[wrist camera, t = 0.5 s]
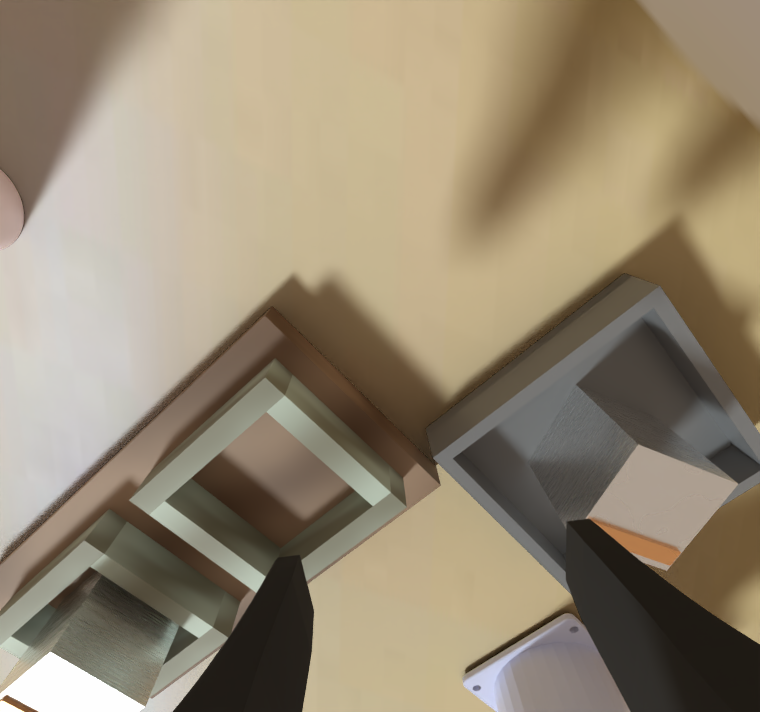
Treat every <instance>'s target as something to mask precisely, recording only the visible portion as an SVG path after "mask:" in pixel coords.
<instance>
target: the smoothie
mask: <svg viewBox="0 0 760 712" xmlns="http://www.w3.org/2000/svg"><path fill="white" fill-rule="evenodd" d="M23 223H24V210H23V205H22V201H21V198H20V196H19V193H18V191H17V189H16V188H15V186H14V184H13V183H12V181H11V180H10V179H9V178H8V176H7V175H6V174H5V173H4V172H3V171H2V170H1V169H0V250H3V249H5V248H7V247H9V246H10V245H11V244H13V243H14V242H15V241H16V239H17V238H18V237H19V235H20V233H21V231H22V228H23Z"/></svg>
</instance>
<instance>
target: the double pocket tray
mask: <svg viewBox="0 0 760 712" xmlns="http://www.w3.org/2000/svg"><path fill="white" fill-rule="evenodd" d="M439 486H441V485H440V481H439V477H438V473H437V469H436V466H435V465H434V464H433V463H432V462H431V461H430V460H429V459H428V458H427V457H426V456H425V455H424V454H423V453H422V452H421V451H420V450H419V449H417V448H416V447H415V446H414V445H413V444H412V443H411V442H410V441H409V440H408V439H407V438H406V437H405V436H404V435H403V434H402V433H401V432H400V431H399V430H398V429H397V428H396V427H395V426H394V425H393V424H392V423H391V422H390V421H389V420H388V419H387V418H386V417H385V416H384V415H383V414H382V413H381V412H380V411H379V410H378V409H377V408H376V407H375V406H374V405H373V404H372V403H371V402H370V401H368V400H367V399H366V398H365V397H364V396H363V395H362V394H361V393H360V392H359V391H358V390H357V389H356V388H355V387H354V386H353V385H352V384H351V383H350V382H349V381H348V380H347V379H346V378H345V377H344V376H343V375H342V374H341V373H340V372H339V371H338V370H337V369H336V368H335V367H334V366H333V365H332V364H331V363H330V362H329V361H328V360H327V359H326V358H325V357H324V356H323V355H322V354H321V353H319V352H318V351H317V350H316V349H315V348H314V347H313V346H312V345H311V344H310V343H309V342H308V341H307V340H306V339H305V338H304V337H303V336H302V335H301V334H300V333H299V332H298V331H297V330H296V329H295V328H294V327H293V326H292V325H291V324H290V323H289V322H288V321H287V320H286V319H285V318H284V317H283V316H282V315H281V314H280V313H279V312H278V311H277V310H276V309H275V308H274V307H273V306H272V307H271V308H270V309H269V310H268V311H267V312H265V313H264V314H263V315H262V316H261V317H260V318H259V319H258V320H257V321H256V322H255V323H254V324H253V325H252V326H251V327H250V328H249V329H247V330H246V331H245V332H244V333H243V334H242V335H241V336H240V337H239V338H238V339H237V340H236V341H235V342H234V343H233V344H232V345H231V346H230V347H228V348H227V349H226V350H225V351H224V352H223V353H222V354H221V355H220V356H219V357H218V358H217V359H216V360H215V361H214V362H213V363H212V364H211V365H209V366H208V367H207V368H206V369H205V370H204V371H203V372H202V373H201V374H200V375H199V376H198V377H197V378H196V379H195V380H194V381H193V382H192V383H190V384H189V385H188V386H187V387H186V388H185V389H184V390H183V391H182V392H181V393H180V394H179V395H178V396H177V397H176V398H175V399H174V400H172V401H171V402H170V403H169V404H168V405H167V406H166V407H165V408H164V409H163V410H162V411H161V412H160V413H159V414H158V415H157V416H156V417H155V418H153V419H152V420H151V421H150V422H149V423H148V424H147V425H146V426H145V427H144V428H143V429H142V430H141V431H140V432H139V433H138V434H137V435H136V436H134V437H133V438H132V439H131V440H130V441H129V442H128V443H127V444H126V445H125V446H124V447H123V448H122V449H121V450H120V451H119V452H118V453H117V454H115V455H114V456H113V457H112V458H111V459H110V460H109V461H108V462H107V463H106V464H105V465H104V466H103V467H102V468H101V469H100V470H99V471H98V472H96V473H95V474H94V475H93V476H92V477H91V478H90V479H89V480H88V481H87V482H86V483H85V484H84V485H83V486H82V487H81V488H80V489H78V490H77V491H76V492H75V493H74V494H73V495H72V496H71V497H70V498H69V499H68V500H67V501H66V502H65V503H64V504H63V505H62V506H61V507H59V508H58V509H57V510H56V511H55V512H54V513H53V514H52V515H51V516H50V517H49V518H48V519H47V520H46V521H45V522H44V523H43V524H42V525H40V526H39V527H38V528H37V529H36V530H35V531H34V532H33V533H32V534H31V535H30V536H29V537H28V538H27V539H26V540H25V541H24V542H23V543H21V544H20V545H19V546H18V547H17V548H16V549H15V550H14V551H13V552H12V553H11V554H10V555H9V556H8V557H7V558H6V559H5V560H3V561H2V562H1V563H0V648H1V649H3V650H5V651H7V652H9V653H10V654H12V655H14V656H16V657H17V658H19V659H20V658H21V657H22V655H23V654H24V653H25V651H26V650H27V649H28V647H29V646H30V644H31V643H32V642H33V640H34V639H35V638H36V636H37V635H38V633H39V632H40V631H41V629H42V628H43V626H44V625H45V624H46V622H47V621H48V620H49V618H50V617H51V615H52V614H53V613H54V611H55V610H56V609H57V607H58V606H59V604H60V603H61V602H62V600H63V599H64V598H65V597H66V596H68V595H69V594H70V593H71V592H72V591H73V590H74V589H76V588H77V587H78V586H79V585H80V584H81V583H83V582H84V581H85V580H86V579H87V578H88V577H89V576H91V575H92V574H93V573H94V572H95V571H98V572H99V573H101V574H102V575H104V576H105V577H107V578H108V579H110V580H111V581H113V582H114V583H116V584H117V585H119V586H120V587H122V588H123V589H125V590H126V591H128V592H129V593H131V594H133V595H134V596H136V597H137V598H139V599H140V600H142V601H143V602H145V603H146V604H148V605H149V606H151V607H152V608H154V609H155V610H157V611H158V612H160V613H161V614H163V615H164V616H166V617H167V618H169V619H171V620H172V621H174V622H175V623H177V624H178V625H179V628H178V630H177V632H176V635H175V637H174V639H173V642H172V644H171V647H170V649H169V651H168V654H167V656H166V658H165V661H164V663H163V666H162V668H161V670H160V673H159V675H158V678H157V680H156V682H155V685H154V687H153V689H152V692H151V694H150V697H149V698H154V697H155V696H156V695H158V694H159V693H160V692H162V691H163V690H164V689H166V688H167V687H168V686H170V685H171V684H173V683H174V682H175V681H177V680H178V679H179V678H181V677H182V676H183V675H185V674H186V673H187V672H189V671H190V670H191V669H193V668H194V667H196V666H197V665H198V664H200V663H201V662H202V661H204V660H205V659H206V658H208V657H209V656H210V655H212V654H213V653H215V652H216V651H217V650H219V649H220V648H221V647H222V646H223V644H224V643H225V642H226V640H227V639H228V637H229V636H230V634H231V633H232V631H233V630H234V628H235V627H236V625H237V623H238V622H239V620H240V619H241V617H242V616H243V614H244V612H245V611H246V609H247V608H248V606H249V604H250V603H251V601H252V599H253V598H254V596H255V594H256V593H257V591H258V589H259V588H260V586H261V584H262V583H263V581H264V579H265V577H266V576H267V574H268V572H269V570H270V569H271V567H272V565H273V563H274V561H275V560H276V559H277V558H278V557H286V556H294V555H300V557H301V561H302V565H303V569H304V573H305V577H306V581H307V584H308V583H309V582H311V581H312V580H313V579H315V578H316V577H317V576H319V575H320V574H321V573H323V572H324V571H326V570H327V569H328V568H330V567H331V566H332V565H334V564H335V563H336V562H338V561H339V560H340V559H342V558H343V557H345V556H346V555H347V554H349V553H350V552H351V551H353V550H354V549H355V548H357V547H358V546H359V545H361V544H362V543H363V542H365V541H366V540H368V539H369V538H370V537H372V536H373V535H374V534H376V533H377V532H378V531H380V530H381V529H382V528H384V527H385V526H386V525H388V524H389V523H391V522H392V521H393V520H395V519H396V518H397V517H399V516H400V515H401V514H403V513H404V512H405V511H407V510H408V509H410V508H411V507H412V506H414V505H415V504H416V503H418V502H419V501H420V500H422V499H423V498H424V497H426V496H427V495H428V494H430V493H431V492H433V491H434V490H435V489H437V488H438V487H439Z"/></svg>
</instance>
